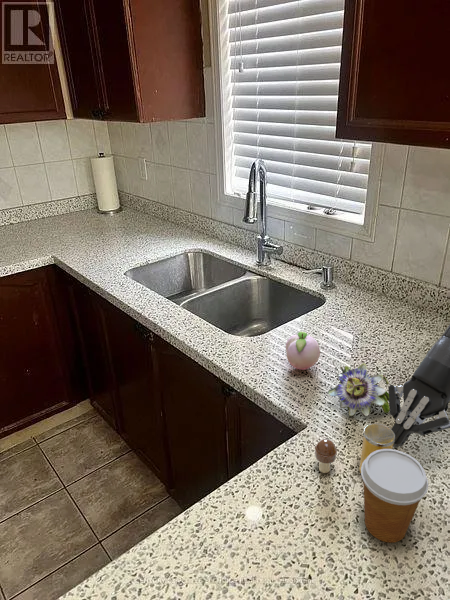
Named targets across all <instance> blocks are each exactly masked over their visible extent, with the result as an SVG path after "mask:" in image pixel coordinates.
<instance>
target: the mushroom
mask: <svg viewBox="0 0 450 600" xmlns="http://www.w3.org/2000/svg"><path fill="white" fill-rule="evenodd" d="M337 454H338V449H337V447H336V446H335V443H334V442H333V441H332V440H330V439H328V438H322V439H321V440H319V441H318V442H317V444H316V445H315V447H314V457H315V459H316V460H317V461H318V471H320V472H321V473H323V474H327V473H329V472H330V471H331V464H333V463H334V462H335V461H336V459H337Z"/></svg>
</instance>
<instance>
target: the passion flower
mask: <svg viewBox="0 0 450 600" xmlns="http://www.w3.org/2000/svg"><path fill="white" fill-rule="evenodd" d="M339 369H340V370H341V373H340V374H337V376H336V378H337V379H338V380H339V383H338V384H337V385H336V386H335V387H333V388H331V389H329V390H328V391H327V395H329V396H330V397H337V398H338V399H339V400H340V403H339V407H340V409H345V408H346V409H348V411H347V412H348V416H349V417H352V416H355V414H356V413H357V411H358V410H360V411H361V414H363V415H364V416H365V417H368V416H369V415H370V414H371V408H372V405H376V406H380V407H381V410H382V411H383V413H384V414H388V413H390V408H389V391H387V390H386V389H385V388H384V387H383V386H381V385H379V383H380V382H381V381H382V380H384V381H385V385H390V384H389V383H390V382H389V380H388V378H387V377H386V375H385V374H373V375H370V374H369V373H368V366H367V364H366V363H365V362H363V363H360V364H359V366H358V367H355V368H351V367H350V366H348V365H345V366H344V368H343V367H342V366H340V367H339Z"/></svg>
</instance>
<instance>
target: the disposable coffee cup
mask: <svg viewBox="0 0 450 600" xmlns="http://www.w3.org/2000/svg"><path fill="white" fill-rule="evenodd" d="M360 475H361V476H360V477H361V479H362V482H363V506H364V507H363V509H364V525H365V527H366V529H367V531H368V532H369V533H370V534H371V536H373V537H374V538H376V539H377V540H379V541H381V542H384V543H390V544H393V543H397V542H400V541H402V540H403V539H404V538H405V536H406V534H407V532H408V529H409V527H410V525H411V522H412V520H413V517H414V516H415V513H416V511H417V508H418V506H419V504H420V502H421V500H422V499H423V498H424V497H425V496H426V495H427V493H428V491H429V481H428V477H427V474H426V471H425V468H424V467H423V466H422V464H421V463H420V462H419V461H418V460H417V459H416V458H415V457H413V456H412V455H410V454H408V453H407V452H404V451H402V450H398V449H381V450H376V451H374V452H372V453H371V454H370V455H369V456H368V457H367V458H366V459H365V460H364V462H363V463H362V466H361V473H360Z"/></svg>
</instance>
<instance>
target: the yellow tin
mask: <svg viewBox="0 0 450 600" xmlns="http://www.w3.org/2000/svg"><path fill="white" fill-rule="evenodd" d="M394 441H395V434H394V432H393V431H392V430H391V428H390V427H389V426H387V425H385V424H382V423H369V424H367V425H366V426H365V427H364V429H363V438H362V444H361V453H360V460H359V469H358V471H359V474H361V466H362V463H363V462H364V460H365V459H366V458H367V457H368V456H369V455H370V454H371V453H372V452H374V451H376V450H381V449H393V448H394V446H393V444H394ZM393 450H394V449H393Z"/></svg>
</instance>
